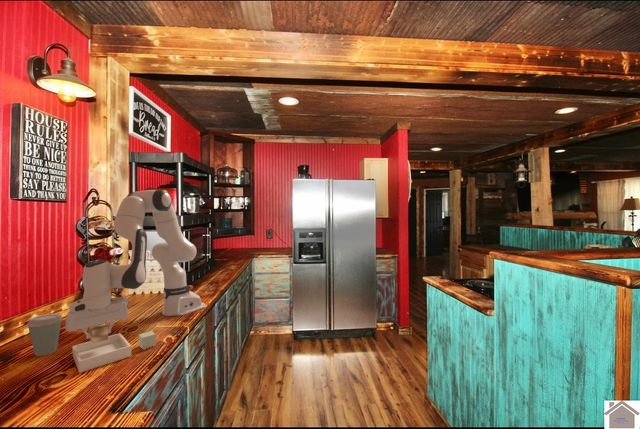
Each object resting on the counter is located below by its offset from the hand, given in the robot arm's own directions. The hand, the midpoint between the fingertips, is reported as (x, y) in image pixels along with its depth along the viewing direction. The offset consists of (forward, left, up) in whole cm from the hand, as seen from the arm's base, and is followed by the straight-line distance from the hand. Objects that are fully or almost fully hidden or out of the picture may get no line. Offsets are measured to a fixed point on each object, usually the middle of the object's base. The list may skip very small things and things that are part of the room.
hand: (98, 335), depth 119 cm
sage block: (-15, +8, -7) cm, 19 cm away
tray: (0, +4, -7) cm, 8 cm away
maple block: (0, 0, -2) cm, 2 cm away
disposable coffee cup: (+15, -17, -7) cm, 24 cm away
